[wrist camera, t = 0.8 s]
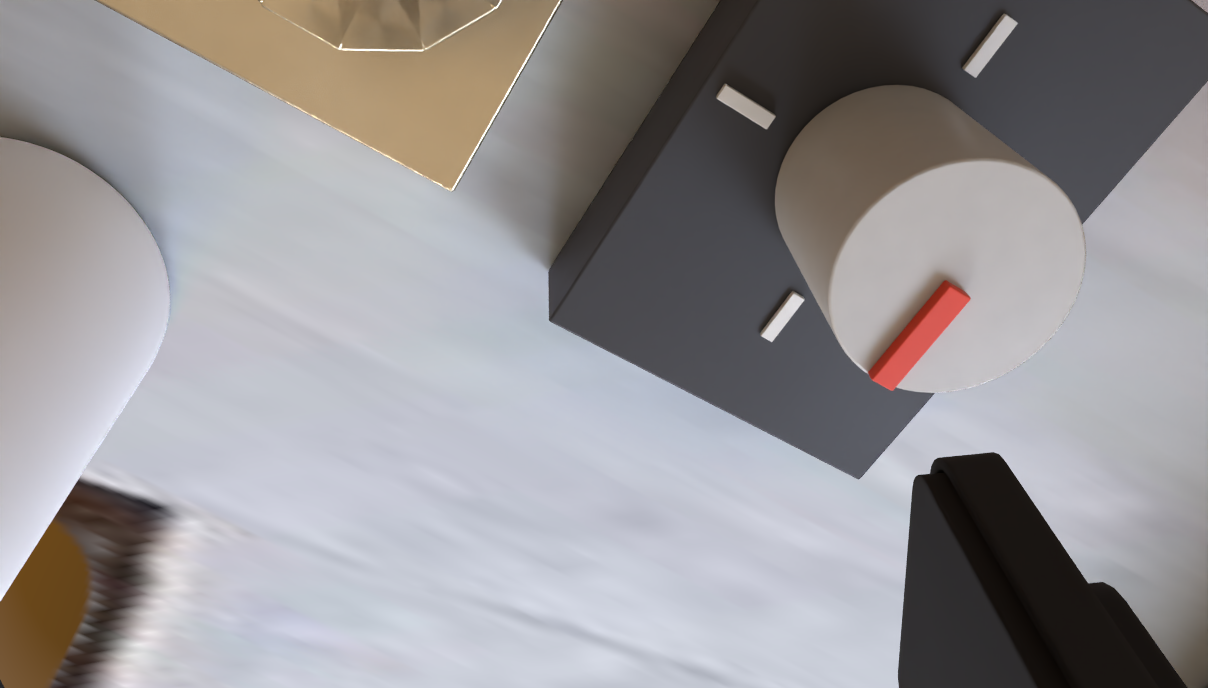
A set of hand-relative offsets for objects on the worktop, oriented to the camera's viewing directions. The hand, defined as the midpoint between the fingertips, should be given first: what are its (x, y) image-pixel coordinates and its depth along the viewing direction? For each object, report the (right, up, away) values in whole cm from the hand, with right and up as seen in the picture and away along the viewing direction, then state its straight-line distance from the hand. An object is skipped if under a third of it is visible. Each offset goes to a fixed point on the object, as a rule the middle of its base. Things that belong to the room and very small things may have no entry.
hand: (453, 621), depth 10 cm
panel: (+8, +8, +17) cm, 20 cm away
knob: (+8, +6, +14) cm, 17 cm away
